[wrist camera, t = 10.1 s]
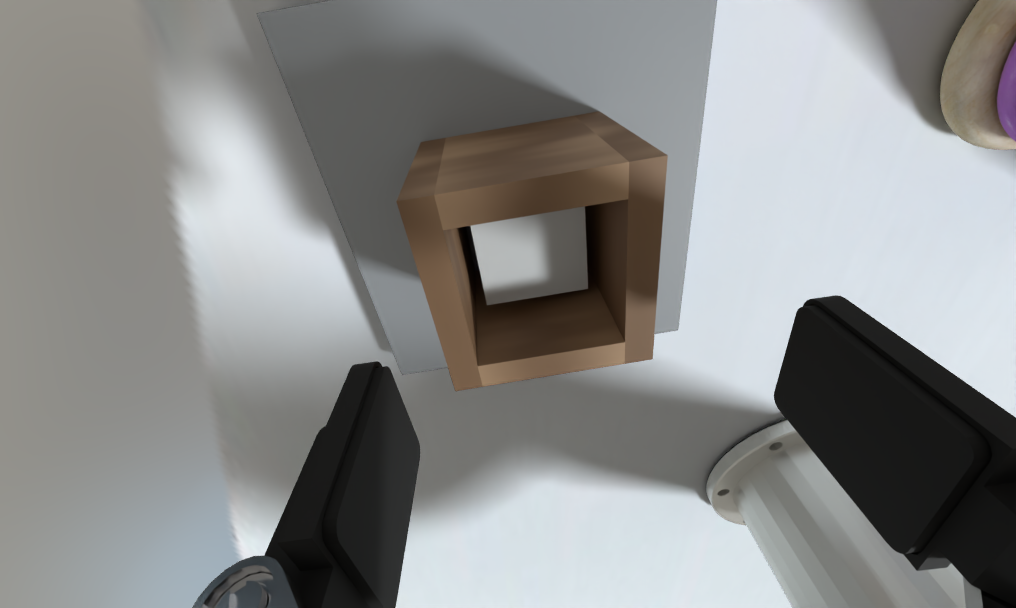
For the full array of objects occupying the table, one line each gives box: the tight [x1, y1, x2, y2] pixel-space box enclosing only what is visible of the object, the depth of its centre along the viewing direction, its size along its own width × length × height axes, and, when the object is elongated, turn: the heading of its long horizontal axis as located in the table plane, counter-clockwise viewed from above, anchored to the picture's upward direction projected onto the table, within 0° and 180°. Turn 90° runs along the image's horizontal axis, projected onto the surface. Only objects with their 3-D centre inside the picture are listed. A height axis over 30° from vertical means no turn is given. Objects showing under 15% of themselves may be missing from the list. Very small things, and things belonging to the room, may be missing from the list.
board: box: [257, 0, 717, 375], centre depth 15 cm, size 14×15×5 cm
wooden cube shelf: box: [396, 111, 668, 391], centre depth 14 cm, size 6×6×6 cm
